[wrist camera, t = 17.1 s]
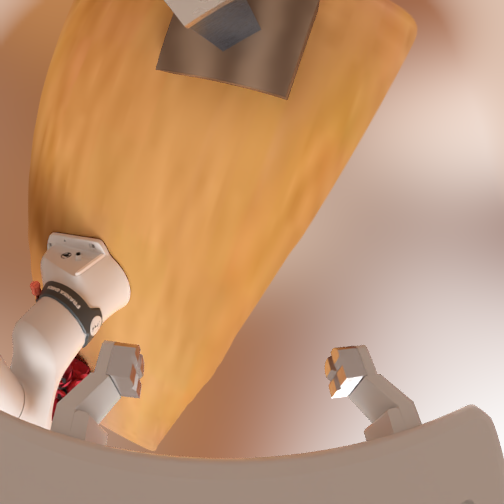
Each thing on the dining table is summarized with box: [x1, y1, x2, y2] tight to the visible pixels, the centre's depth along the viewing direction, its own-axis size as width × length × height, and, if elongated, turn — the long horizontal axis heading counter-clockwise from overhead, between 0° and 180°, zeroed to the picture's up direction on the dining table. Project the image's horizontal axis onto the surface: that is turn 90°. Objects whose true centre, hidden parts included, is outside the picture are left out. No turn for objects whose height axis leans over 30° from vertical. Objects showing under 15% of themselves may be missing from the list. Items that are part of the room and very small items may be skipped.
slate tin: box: [164, 0, 261, 51], centre depth 19 cm, size 5×5×12 cm
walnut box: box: [156, 0, 319, 100], centre depth 27 cm, size 16×14×6 cm
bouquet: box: [52, 358, 90, 421], centre depth 64 cm, size 22×24×30 cm
